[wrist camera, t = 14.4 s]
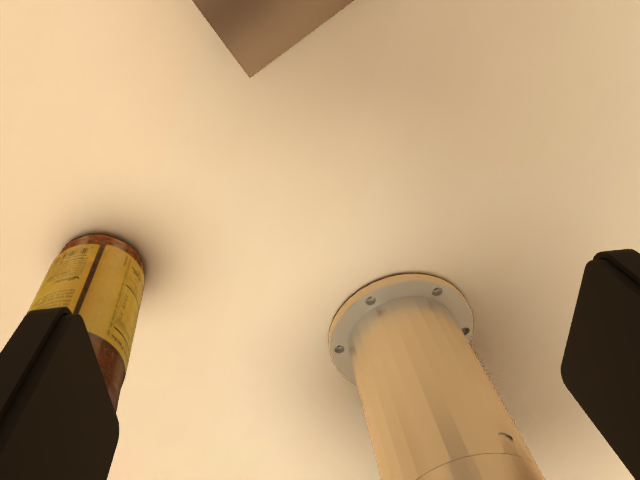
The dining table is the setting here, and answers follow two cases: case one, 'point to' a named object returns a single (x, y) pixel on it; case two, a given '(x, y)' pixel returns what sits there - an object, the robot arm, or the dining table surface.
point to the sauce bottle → (99, 298)
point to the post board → (265, 25)
